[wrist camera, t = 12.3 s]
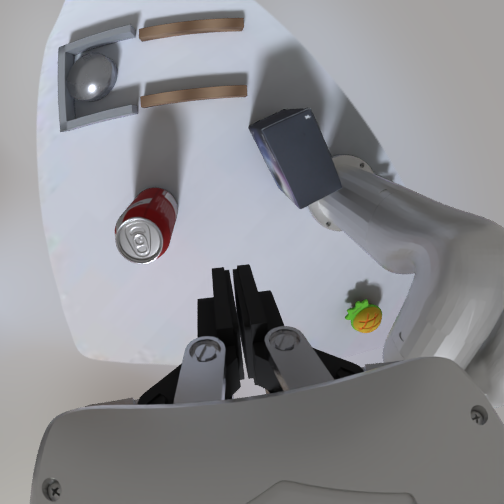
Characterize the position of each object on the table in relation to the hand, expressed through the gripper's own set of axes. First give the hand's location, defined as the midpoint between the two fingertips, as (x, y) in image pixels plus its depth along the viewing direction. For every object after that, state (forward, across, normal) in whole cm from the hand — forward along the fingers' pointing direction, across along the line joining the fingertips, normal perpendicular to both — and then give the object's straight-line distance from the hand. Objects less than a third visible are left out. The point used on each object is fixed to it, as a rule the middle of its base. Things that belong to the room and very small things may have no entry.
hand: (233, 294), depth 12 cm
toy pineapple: (+29, -27, +29) cm, 49 cm away
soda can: (+29, +9, +4) cm, 31 cm away
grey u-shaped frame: (+29, +15, -17) cm, 37 cm away
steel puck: (+29, +16, -17) cm, 38 cm away
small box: (+29, -10, -3) cm, 31 cm away
